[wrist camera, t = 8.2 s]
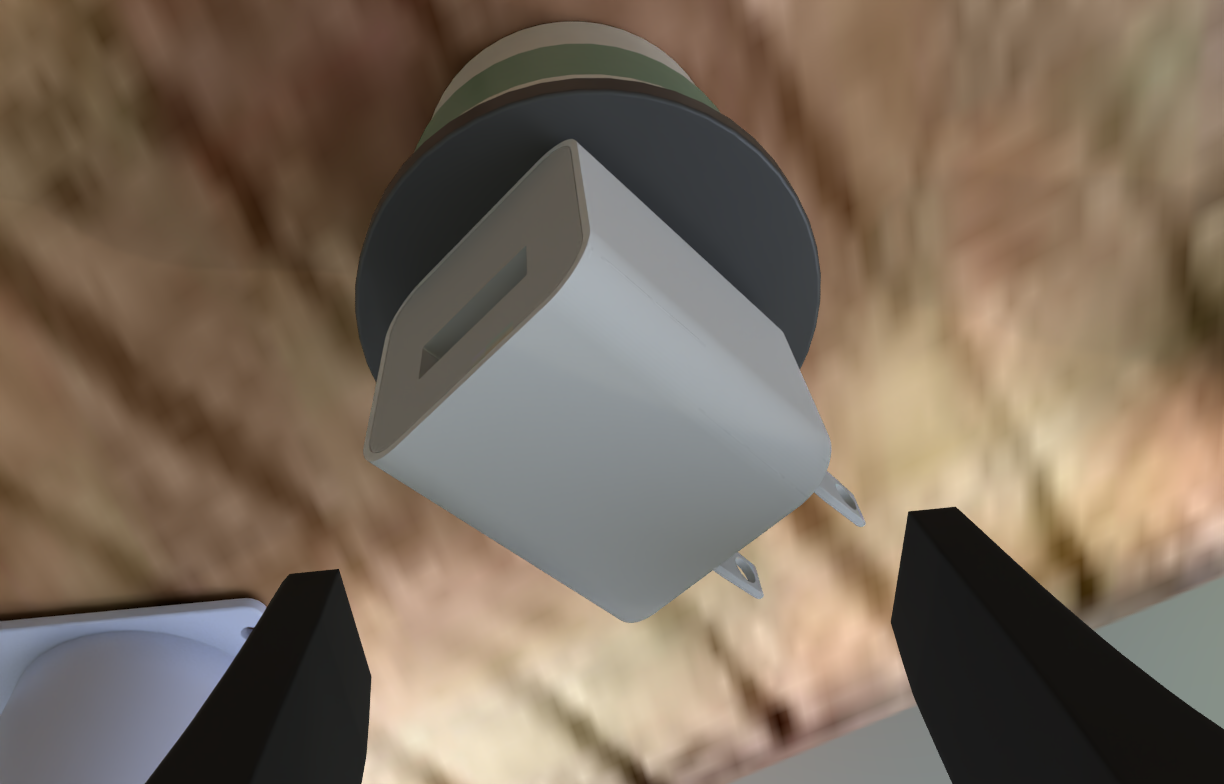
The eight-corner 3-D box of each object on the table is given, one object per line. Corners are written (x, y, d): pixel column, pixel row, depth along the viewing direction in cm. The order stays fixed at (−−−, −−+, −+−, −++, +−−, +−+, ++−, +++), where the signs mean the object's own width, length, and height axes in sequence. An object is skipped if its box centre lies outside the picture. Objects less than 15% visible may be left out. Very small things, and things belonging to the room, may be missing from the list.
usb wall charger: (573, 124, 13) (595, 258, 10) (870, 399, 16) (959, 570, 13) (389, 312, 15) (356, 484, 11) (695, 532, 18) (736, 716, 15)
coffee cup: (740, 309, 22) (805, 478, 17) (424, 335, 22) (398, 515, 17) (752, -27, 18) (841, 70, 13) (362, 0, 18) (305, 110, 13)
